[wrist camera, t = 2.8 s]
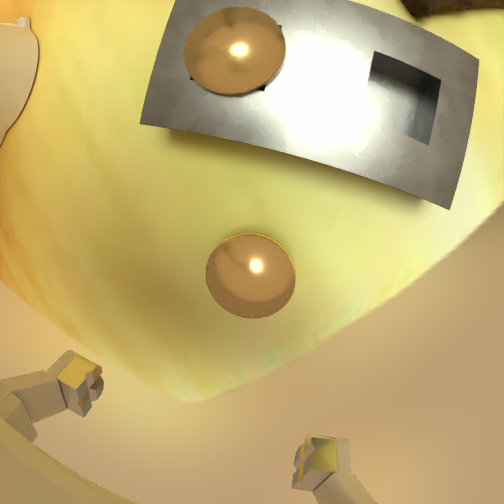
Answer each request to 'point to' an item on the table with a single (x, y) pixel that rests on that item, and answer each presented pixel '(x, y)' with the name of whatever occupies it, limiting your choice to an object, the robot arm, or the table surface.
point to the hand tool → (447, 5)
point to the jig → (319, 87)
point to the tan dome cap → (251, 275)
